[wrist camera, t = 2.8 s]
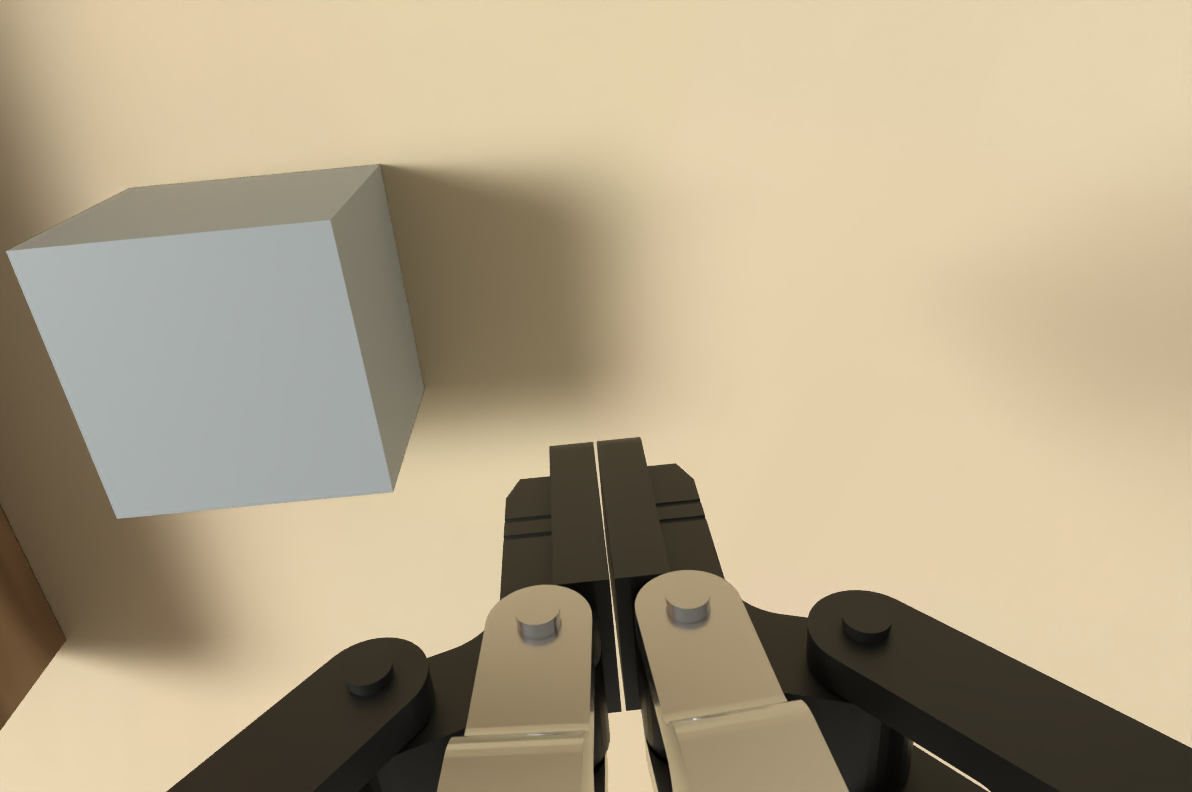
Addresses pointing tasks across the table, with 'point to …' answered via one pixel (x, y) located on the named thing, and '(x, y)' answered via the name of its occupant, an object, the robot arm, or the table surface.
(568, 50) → the table surface
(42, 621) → the board
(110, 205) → the block
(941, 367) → the table surface
